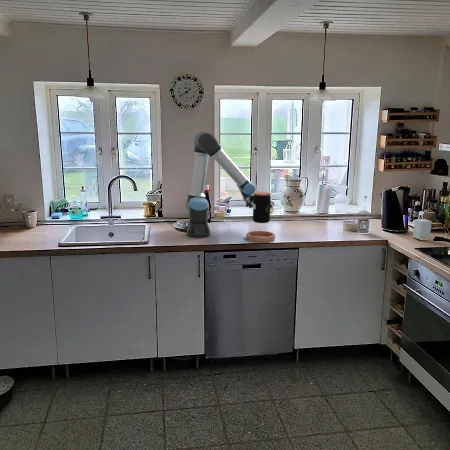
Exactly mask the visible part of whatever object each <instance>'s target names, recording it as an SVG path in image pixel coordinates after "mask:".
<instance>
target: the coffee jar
mask: <svg viewBox="0 0 450 450" xmlns="http://www.w3.org/2000/svg"><path fill="white" fill-rule="evenodd" d="M271 194H272V193H271V192H269V191H255V192H254V197H253V204H255V209H253V208H252V221H253V222H254V223H256V224H268V223H270V221H271V208H270V204H271V201H272V200H271V199H272V198H271Z"/></svg>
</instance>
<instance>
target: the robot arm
mask: <svg viewBox="0 0 450 450" xmlns="http://www.w3.org/2000/svg"><path fill="white" fill-rule="evenodd" d="M193 142H194V143H193V144H194V148H193V153H194V154H195V159H194V166H193V173H192V180H191V181H192V182H191V186H190V187H191V188H190V189H191V190H190V192H188V194H187V199H186V201H185V208H186V210H187V212H188V213H189V216H188V217H189V220H188V221H189V222H188V227H187V230H186V236H187V237H189V238H195V239H199V238H200V239H201V238H209V237H210V236H211V230H210V226H209V224H208V221H209V218H208V217H209V215H208V214H209V212H208V210H209V203H208V200H207V199H206V194H205V186H206V179H207V172H208V165H209V160H210V159H209V158H213V159H214V161H216V163H217V164H218V165H219V166H220V167H221V168H222V169H223V170H224V172H225V173H226V174H227V175H228V176H229V177H230V178H231V179H232V180H233V182H234V183H235V184H236V187H237V188H238V190H239V192H240V194H241V196H242V200H243V201H244V202H245V208H249V209H251V208H252V210H253V209H255V204H253V197H254V192H256V185H255V184H253V182H251V181H250V179H248V177H247V176H246V175H245V174H244V173H243V172H242V170H241V169H240V168H239V166H237V164H236V163H235V162H234V161H233V160H232V159H231V158H230V156H229V155H228V154H227V153H226V152H225V151H224V150H223V146H222V145H221V144H220V143H219V141H218V140H217V138H216V137H215V135H214V134H212V133H210V132H208V131H207V132H206V131H201V132H199V133H197V134H196V136H195V137H194V140H193ZM274 203H275V202H274V201H272V200H271V204H270V209H272V210H274V206H275V204H274Z"/></svg>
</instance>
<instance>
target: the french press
mask: <svg viewBox="0 0 450 450" xmlns="http://www.w3.org/2000/svg"><path fill="white" fill-rule="evenodd" d="M363 198H364V201H366V199H367V198H368V196H366V195H364V196H363ZM360 215H363V216H365V215H368V216H369V215H371V212H370V211H368V210H366V206H364V209H362V210H359V211H358V212H357V214H354V216H353V218H352V220H353V222H356V223H357V224H356V228H357V227H358V228H357V229H358V230H357V232H358V233H368V232H369V231H370V230H369V229H370V219H369V218H367V217H359V216H360ZM356 216H357V218H358V220H357V221H356V220H355V217H356ZM357 225H359V226H357ZM369 233H370V232H369Z"/></svg>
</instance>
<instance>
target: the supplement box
mask: <svg viewBox="0 0 450 450" xmlns="http://www.w3.org/2000/svg"><path fill="white" fill-rule="evenodd" d="M432 221H433V220H428V219H425V218H422V219H421V218H418V219H417V218H416V219H414V224H413V234H412V238H413V237H415V238H418V239H430V238H431V230H432ZM430 240H431V239H430Z"/></svg>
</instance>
